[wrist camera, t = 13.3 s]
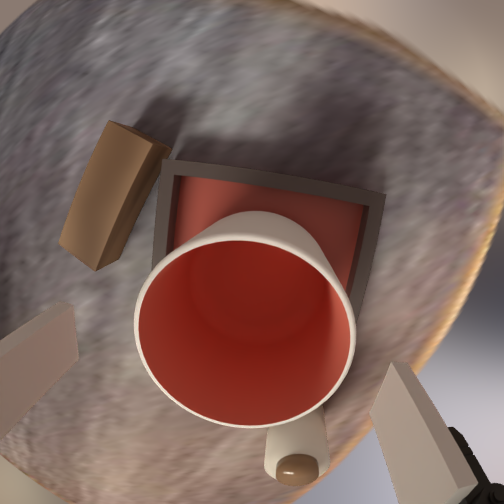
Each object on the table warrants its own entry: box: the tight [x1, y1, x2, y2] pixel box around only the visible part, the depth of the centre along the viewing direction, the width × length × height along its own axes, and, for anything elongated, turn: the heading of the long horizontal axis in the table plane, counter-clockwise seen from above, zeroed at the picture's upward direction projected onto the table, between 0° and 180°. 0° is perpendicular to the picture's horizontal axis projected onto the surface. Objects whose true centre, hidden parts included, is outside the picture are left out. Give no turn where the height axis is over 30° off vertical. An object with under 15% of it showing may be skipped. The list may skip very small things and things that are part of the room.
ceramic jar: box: [264, 404, 330, 486], centre depth 22 cm, size 5×5×8 cm
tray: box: [152, 159, 386, 324], centre depth 22 cm, size 15×15×2 cm
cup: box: [134, 211, 356, 428], centre depth 18 cm, size 10×10×10 cm
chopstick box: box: [58, 120, 172, 271], centre depth 21 cm, size 4×10×4 cm, turn 149°
